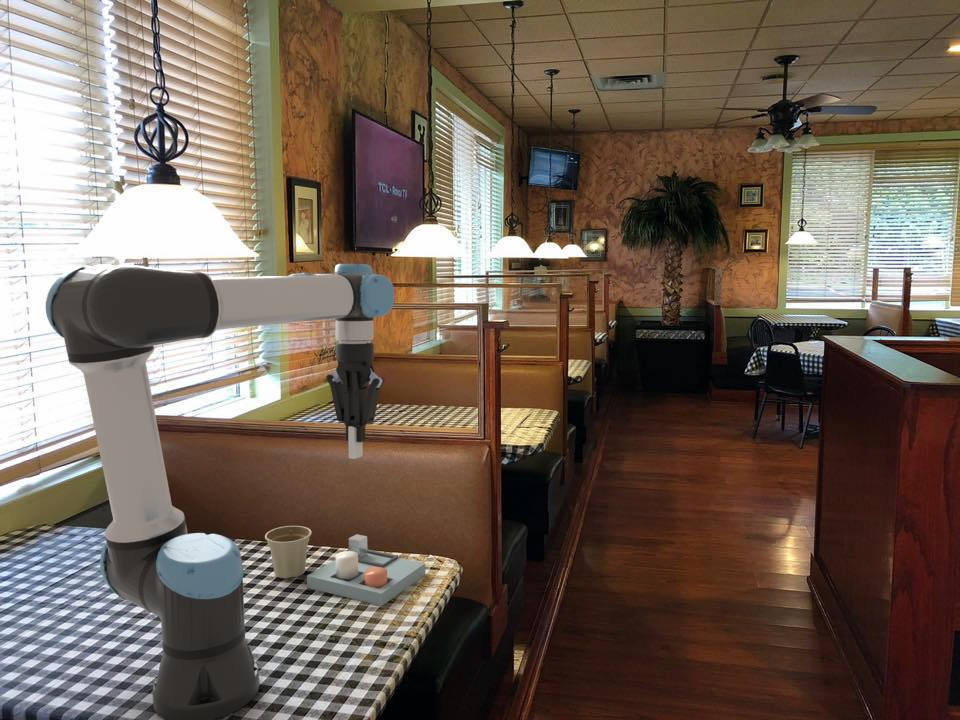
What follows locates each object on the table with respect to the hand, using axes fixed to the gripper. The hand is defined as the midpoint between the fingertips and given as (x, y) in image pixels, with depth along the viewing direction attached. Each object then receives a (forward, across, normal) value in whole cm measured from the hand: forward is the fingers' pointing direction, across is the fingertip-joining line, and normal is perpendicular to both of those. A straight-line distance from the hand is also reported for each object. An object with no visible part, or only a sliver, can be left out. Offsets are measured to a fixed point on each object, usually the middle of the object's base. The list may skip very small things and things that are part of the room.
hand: (355, 457), depth 151 cm
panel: (+26, -3, 0) cm, 26 cm away
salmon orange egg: (+25, -8, +4) cm, 27 cm away
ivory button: (+23, -1, +4) cm, 23 cm away
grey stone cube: (+23, +3, -5) cm, 23 cm away
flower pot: (+26, +14, +4) cm, 30 cm away
